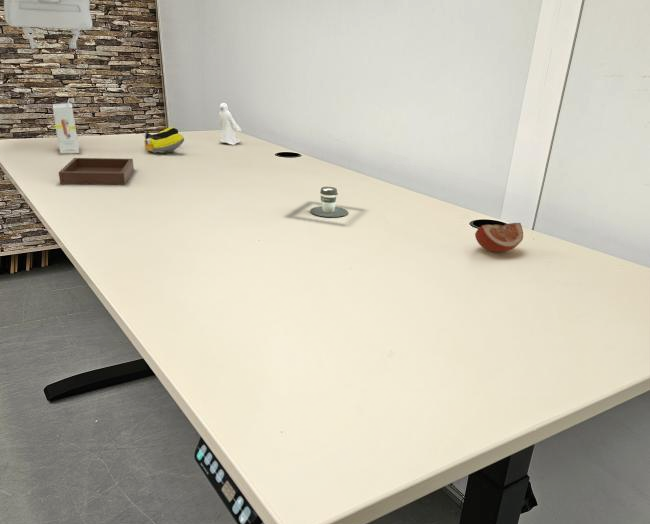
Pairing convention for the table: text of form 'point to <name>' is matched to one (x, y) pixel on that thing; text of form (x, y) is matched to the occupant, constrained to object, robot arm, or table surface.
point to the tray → (97, 171)
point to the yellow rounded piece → (163, 140)
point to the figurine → (228, 126)
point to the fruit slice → (499, 236)
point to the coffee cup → (328, 204)
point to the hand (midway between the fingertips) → (54, 48)
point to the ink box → (65, 128)
